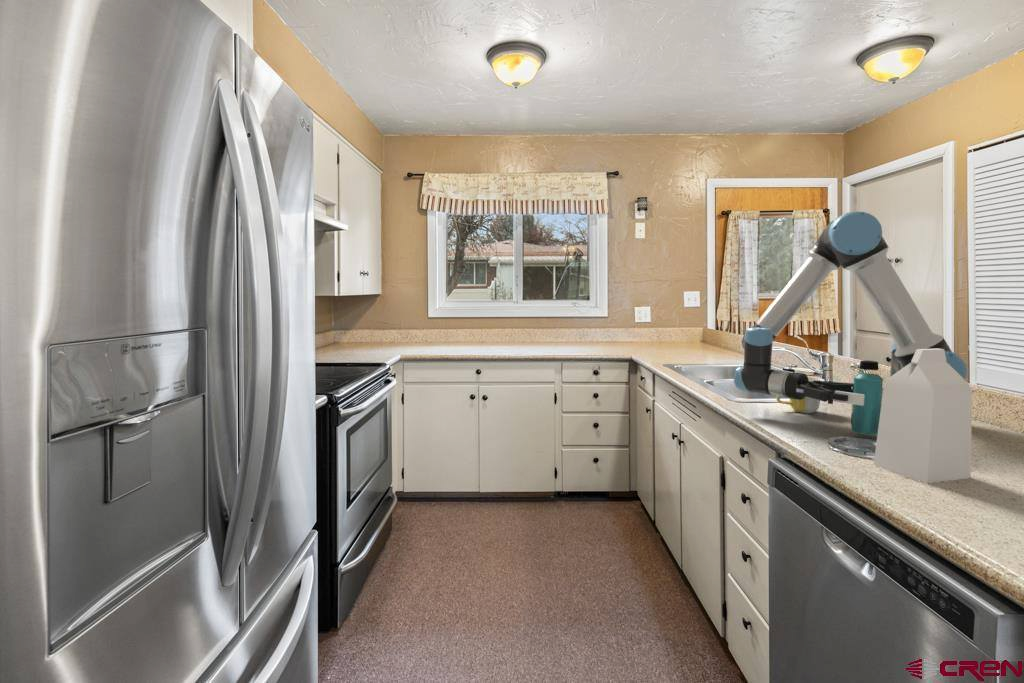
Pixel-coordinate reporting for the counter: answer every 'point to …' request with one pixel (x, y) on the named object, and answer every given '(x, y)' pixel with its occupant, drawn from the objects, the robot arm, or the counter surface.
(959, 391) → the milk
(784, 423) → the counter surface
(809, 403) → the mug
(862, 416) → the beverage bottle
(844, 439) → the grey round plate
